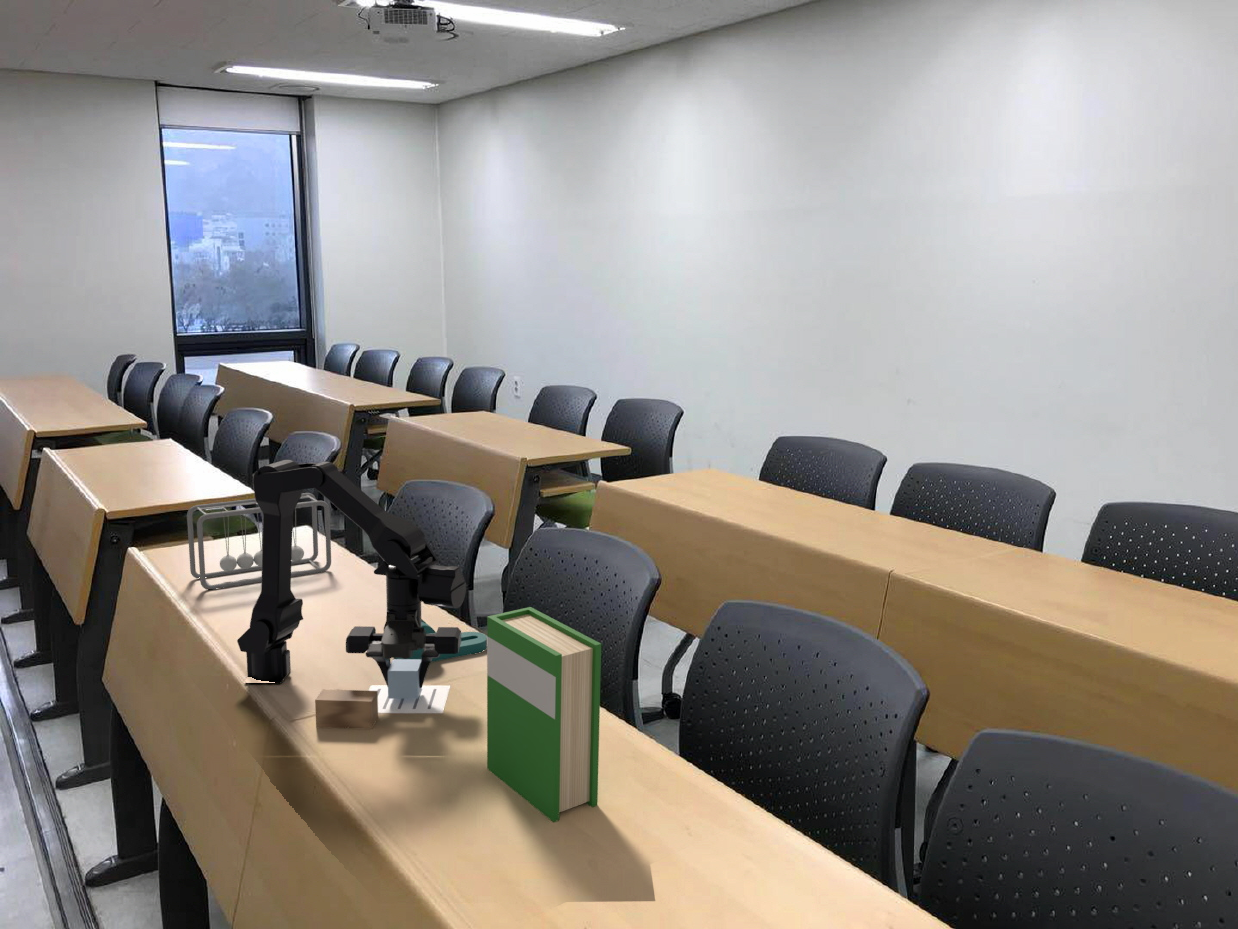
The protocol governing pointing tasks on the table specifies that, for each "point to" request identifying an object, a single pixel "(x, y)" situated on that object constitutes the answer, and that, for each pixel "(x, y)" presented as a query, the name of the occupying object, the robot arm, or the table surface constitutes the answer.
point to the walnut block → (346, 709)
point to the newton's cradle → (245, 559)
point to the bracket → (469, 645)
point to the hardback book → (543, 710)
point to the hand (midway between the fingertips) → (405, 687)
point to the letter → (413, 700)
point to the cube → (404, 679)
